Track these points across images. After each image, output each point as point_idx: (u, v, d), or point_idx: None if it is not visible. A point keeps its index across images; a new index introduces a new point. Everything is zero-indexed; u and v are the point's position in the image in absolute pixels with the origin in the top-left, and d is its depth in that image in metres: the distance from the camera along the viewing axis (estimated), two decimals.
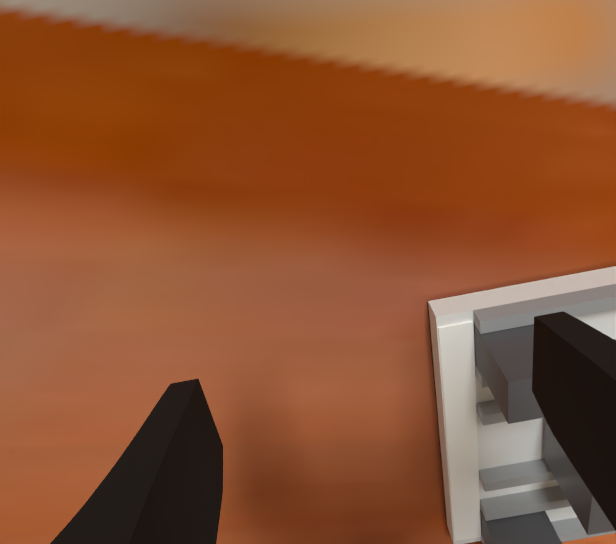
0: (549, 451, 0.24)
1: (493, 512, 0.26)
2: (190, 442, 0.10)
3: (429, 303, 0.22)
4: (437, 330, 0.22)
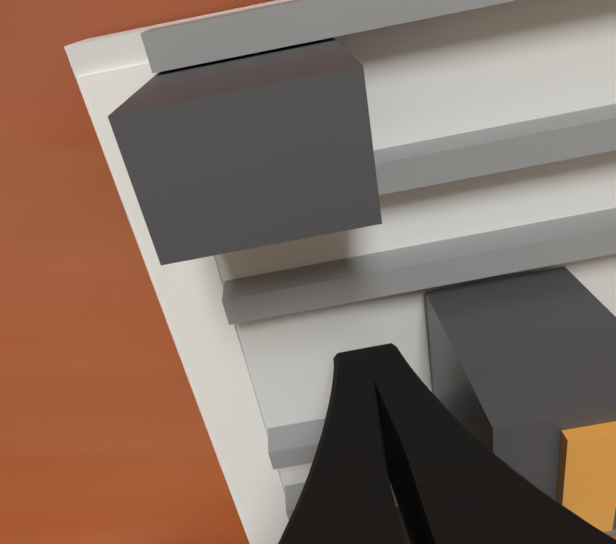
0: (437, 376, 0.12)
1: None
2: (378, 408, 0.10)
3: (84, 41, 0.10)
4: (80, 87, 0.09)
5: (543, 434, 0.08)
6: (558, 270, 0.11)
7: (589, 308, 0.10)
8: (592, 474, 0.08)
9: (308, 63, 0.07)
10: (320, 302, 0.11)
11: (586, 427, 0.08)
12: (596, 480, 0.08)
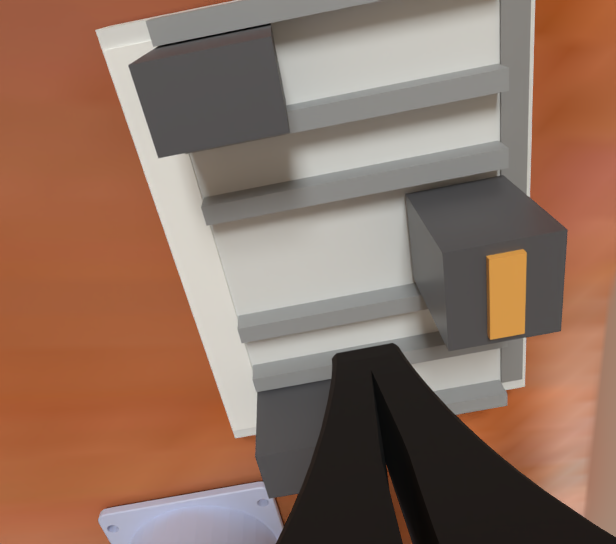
0: (414, 257, 0.17)
1: (263, 378, 0.19)
2: (376, 408, 0.10)
3: (107, 27, 0.15)
4: (105, 57, 0.14)
5: (474, 258, 0.13)
6: (499, 177, 0.16)
7: (515, 195, 0.15)
8: (506, 287, 0.13)
9: (245, 37, 0.12)
10: (269, 209, 0.16)
11: (501, 254, 0.13)
12: (510, 292, 0.13)
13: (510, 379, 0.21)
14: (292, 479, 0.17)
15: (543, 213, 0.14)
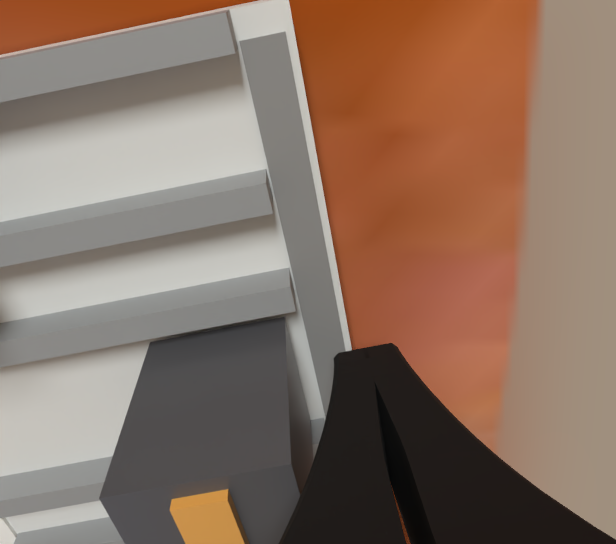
0: None
1: None
2: (378, 408, 0.10)
3: None
4: None
5: (154, 502, 0.08)
6: (277, 321, 0.11)
7: (272, 365, 0.10)
8: (213, 541, 0.09)
9: None
10: None
11: (196, 496, 0.08)
12: None
13: None
14: None
15: (282, 416, 0.09)
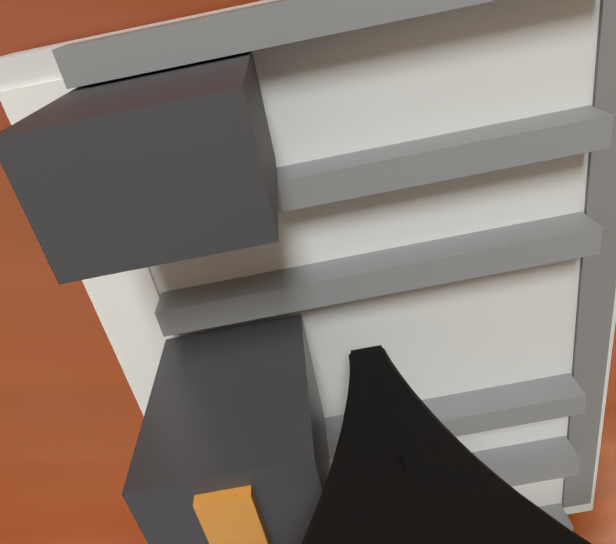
0: None
1: None
2: None
3: None
4: (2, 101, 0.09)
5: (177, 498, 0.08)
6: (293, 318, 0.11)
7: (291, 362, 0.10)
8: (235, 537, 0.09)
9: (203, 81, 0.07)
10: (254, 314, 0.11)
11: (218, 492, 0.08)
12: (242, 541, 0.09)
13: (575, 503, 0.16)
14: None
15: (303, 412, 0.09)
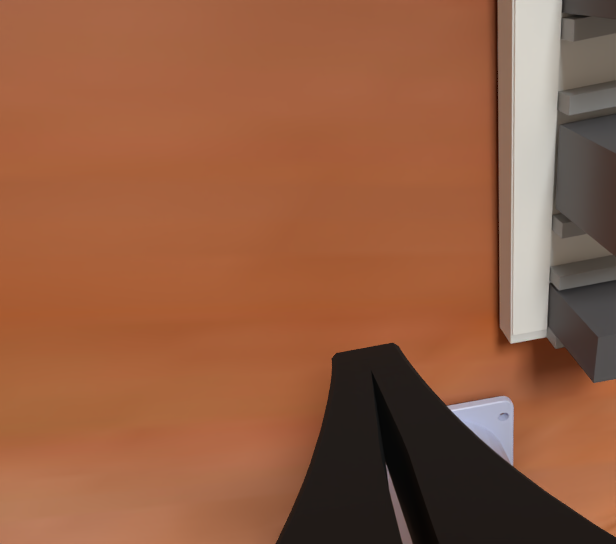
0: (563, 185, 0.18)
1: (570, 275, 0.20)
2: (376, 408, 0.10)
3: None
4: None
5: None
6: None
7: None
8: None
9: None
10: None
11: None
12: None
13: None
14: None
15: None
